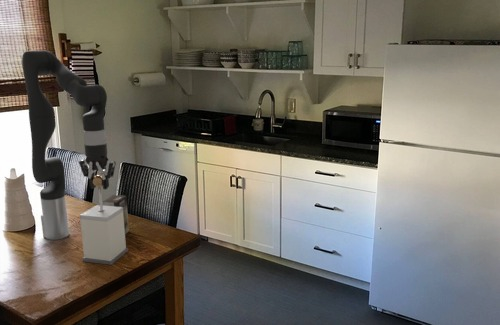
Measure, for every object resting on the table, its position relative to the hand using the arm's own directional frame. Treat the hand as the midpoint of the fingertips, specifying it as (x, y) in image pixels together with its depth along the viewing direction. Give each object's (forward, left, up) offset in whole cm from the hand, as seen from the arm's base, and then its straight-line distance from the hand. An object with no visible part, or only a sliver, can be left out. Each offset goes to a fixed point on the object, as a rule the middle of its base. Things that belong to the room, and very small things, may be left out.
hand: (99, 188), depth 171 cm
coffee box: (-6, +19, -27) cm, 34 cm away
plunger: (0, 0, -15) cm, 15 cm away
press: (0, +1, -27) cm, 27 cm away
